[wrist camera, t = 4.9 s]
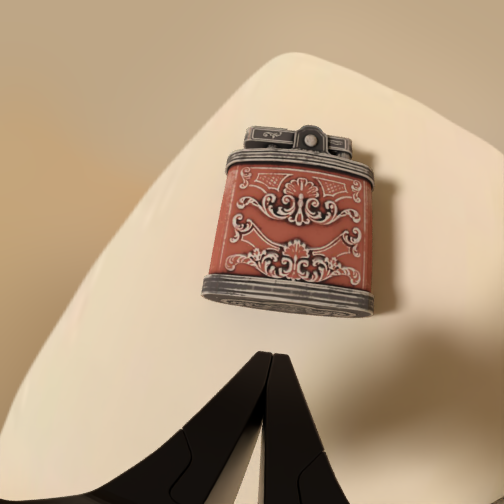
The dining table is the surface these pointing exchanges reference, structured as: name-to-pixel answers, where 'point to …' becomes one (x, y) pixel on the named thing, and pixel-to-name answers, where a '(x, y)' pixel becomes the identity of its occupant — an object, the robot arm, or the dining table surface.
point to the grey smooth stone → (499, 501)
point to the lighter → (294, 226)
